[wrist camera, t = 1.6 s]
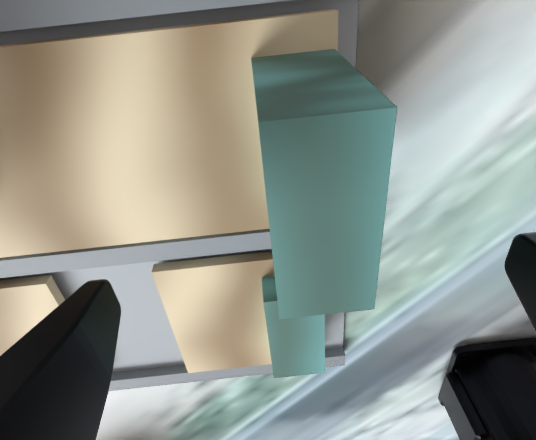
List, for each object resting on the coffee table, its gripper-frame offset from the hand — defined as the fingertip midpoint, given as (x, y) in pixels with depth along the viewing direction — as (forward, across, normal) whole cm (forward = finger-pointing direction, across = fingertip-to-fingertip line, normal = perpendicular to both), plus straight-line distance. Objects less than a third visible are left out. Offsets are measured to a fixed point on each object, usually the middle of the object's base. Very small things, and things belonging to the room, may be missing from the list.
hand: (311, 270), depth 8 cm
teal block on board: (+8, +9, 0) cm, 12 cm away
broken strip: (+8, +9, +10) cm, 16 cm away
